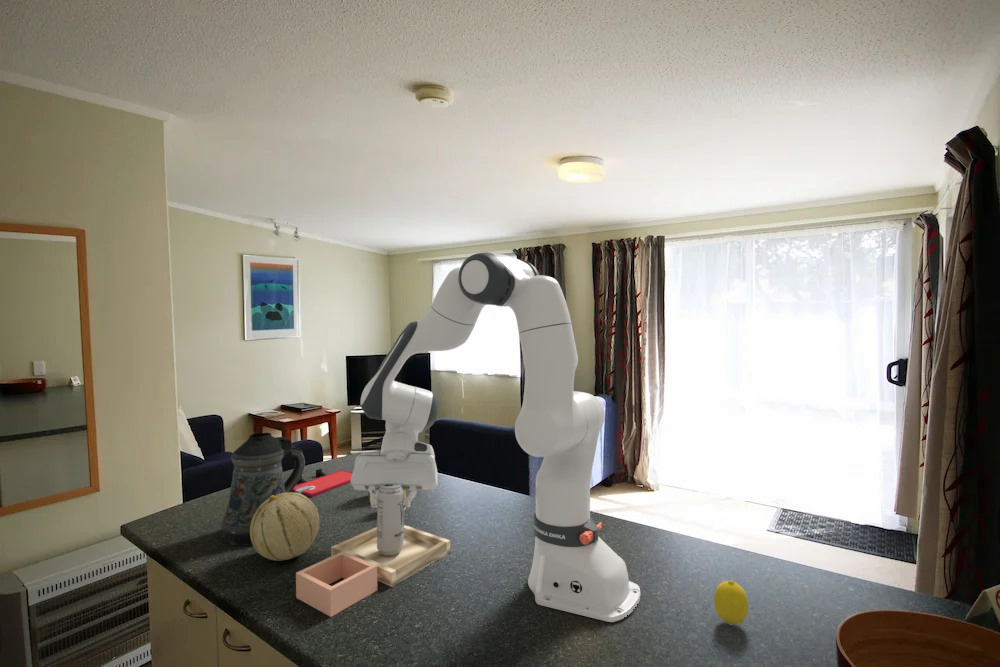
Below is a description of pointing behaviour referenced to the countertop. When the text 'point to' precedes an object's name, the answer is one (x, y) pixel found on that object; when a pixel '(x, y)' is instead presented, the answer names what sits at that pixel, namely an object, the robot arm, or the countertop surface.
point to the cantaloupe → (284, 526)
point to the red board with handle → (322, 483)
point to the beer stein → (257, 481)
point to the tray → (402, 565)
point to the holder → (343, 594)
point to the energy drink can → (390, 519)
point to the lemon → (731, 602)
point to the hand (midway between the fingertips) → (390, 506)
